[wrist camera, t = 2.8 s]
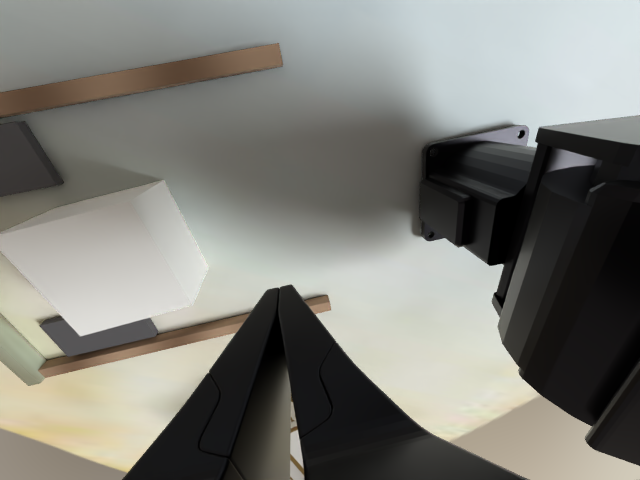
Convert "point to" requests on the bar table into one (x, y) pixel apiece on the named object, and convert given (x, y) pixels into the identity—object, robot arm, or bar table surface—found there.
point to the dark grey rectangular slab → (38, 172)
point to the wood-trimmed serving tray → (3, 337)
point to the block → (110, 258)
